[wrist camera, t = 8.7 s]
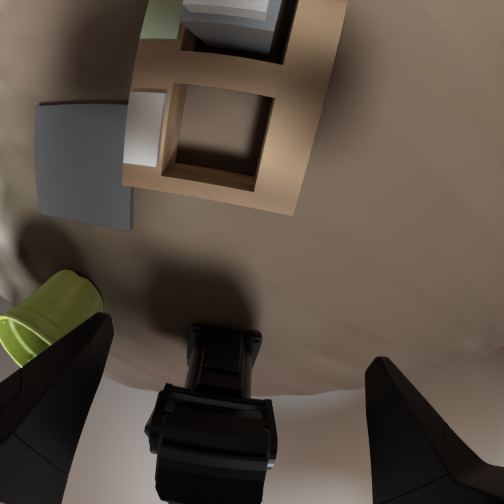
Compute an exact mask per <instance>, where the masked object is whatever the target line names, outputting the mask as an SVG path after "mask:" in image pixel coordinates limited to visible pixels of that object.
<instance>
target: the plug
mask: <svg viewBox="0 0 504 504" xmlns="http://www.w3.org/2000/svg"><path fill="white" fill-rule="evenodd" d="M281 3H282V0H184V1H183V4H182V8H181V12H180V15H179V19H178V21H179V22H180V23H182V24H183V25H184V26H185V27H186V28H188V29H189V30H190V31H191V32H192V33H194V34H195V35H196V36H197V37H198V38H199V39H201V40H202V41H203V42H204V43H205V44H206V45H207V46H209V47H218V48H226V49H234V50H240V51H247V52H253V53H258V54H263V55H268V56H269V52H270V48H271V43H272V39H273V35H274V31H275V27H276V23H277V19H278V15H279V11H280V7H281Z"/></svg>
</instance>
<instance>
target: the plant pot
mask: <svg viewBox="0 0 504 504" xmlns="http://www.w3.org/2000/svg"><path fill="white" fill-rule="evenodd" d="M102 311H103V301H102V298H101V296H100V294H99V292H98V291H97V289H96V288H95V286H94V285H93V284H92V283H91V282H90V281H89V280H88V279H86V278H82V277H80V276H78V275H77V274H76V273H75V272H74V271H71V270H61V271H58V272H57V273H56V274H54V275H53V276H52V277H51V278H50V279H48V280H47V281H46V282H45V283H44V284H43V285H42V286H40V287H39V288H38V289H37V290H36V291H35V292H33V293H32V294H31V295H30V296H29V297H28V298H27V299H25V300H24V301H23V302H22V303H21V304H20V305H19V306H18V307H16V308H13V309H11V310H10V311H9V312H8V313H7V314H0V342H1V344H2V345H3V347H4V348H5V350H6V351H7V352H8V353H9V355H10V356H11V357H12V358H13V360H15V362H16V363H17V364H18V365H19V366H20V367H21V368H22V367H23V365H25V364H26V363H27V362H29V361H30V360H31V359H33V358H34V357H36V356H37V355H38V354H40V353H41V352H42V351H44V350H45V349H46V348H48V347H49V346H50V345H52V344H53V343H55V342H56V341H57V340H59V339H60V338H61V337H63V336H64V335H66V334H67V333H68V332H70V331H71V330H73V329H74V328H75V327H77V326H78V325H80V324H81V323H83V322H84V321H85V320H87V319H88V318H90V317H91V316H93V315H94V314H95V313H97V312H102Z"/></svg>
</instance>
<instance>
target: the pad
mask: <svg viewBox="0 0 504 504" xmlns="http://www.w3.org/2000/svg"><path fill="white" fill-rule="evenodd" d="M127 110H128V104H58V105H43V106H36V116H35V163H36V180H37V192H38V202H39V210H40V214H43V215H48V216H53V217H58V218H63V219H68V220H74V221H79V222H84V223H89V224H94V225H99V226H105V227H110V228H115V229H120V230H126V231H131V229H132V222H133V187H130V186H123V185H122V173H123V154H124V140H125V128H126V118H127Z"/></svg>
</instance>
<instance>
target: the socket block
mask: <svg viewBox="0 0 504 504" xmlns="http://www.w3.org/2000/svg"><path fill="white" fill-rule="evenodd" d="M183 1H184V0H149V3H148V6H147V10H146V14H145V17H144V21H143V25H142V30H141V34H140V38H139V43H138V48H137V53H136V58H135V63H134V69H133V75H132V81H131V87H130V94H129V102H128V110H127V118H126V128H125V140H124V154H123V173H122V185H123V186H130V187H137V188H144V189H150V190H156V191H163V192H169V193H175V194H181V195H187V196H192V197H198V198H204V199H209V200H215V201H220V202H226V203H231V204H236V205H241V206H247V207H252V208H257V209H262V210H266V211H271V212H276V213H281V214H286V215H290V216H293V213H294V210H295V207H296V203H297V200H298V196H299V193H300V189H301V186H302V182H303V179H304V175H305V171H306V168H307V164H308V161H309V157H310V153H311V150H312V146H313V142H314V138H315V135H316V131H317V127H318V123H319V120H320V116H321V112H322V108H323V104H324V100H325V96H326V92H327V88H328V84H329V80H330V76H331V72H332V68H333V64H334V60H335V56H336V52H337V47H338V43H339V39H340V34H341V30H342V26H343V21H344V17H345V12H346V8H347V3H348V0H296V3H295V7H294V11H293V16H292V20H291V24H290V28H289V32H288V36H287V40H286V44H285V48H284V52H283V57H282V61H281V65H279V64H274V63H270V62H265V61H260V60H254V59H249V58H243V57H236V56H229V55H222V54H214V53H204V52H194V50H195V46H196V41H197V36H196V35H195V34H194V33H192V32H191V31H190V30H189V29H188V28H186V27H185V26H184V25H183V24H182V23H180V22H179V21H178V19H179V15H180V12H181V8H182V4H183ZM187 84H191V85H200V86H208V87H216V88H222V89H229V90H235V91H241V92H247V93H252V94H257V95H262V96H267V97H272V98H273V99H272V103H271V108H270V112H269V116H268V121H267V125H266V130H265V134H264V138H263V143H262V147H261V152H260V156H259V161H258V165H257V170H256V174H255V177H254V176H249V175H244V174H239V173H233V172H228V171H223V170H217V169H211V168H205V167H199V166H193V165H187V164H180V163H176V155H177V147H178V140H179V133H180V126H181V119H182V113H183V107H184V101H185V95H186V90H187Z"/></svg>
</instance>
